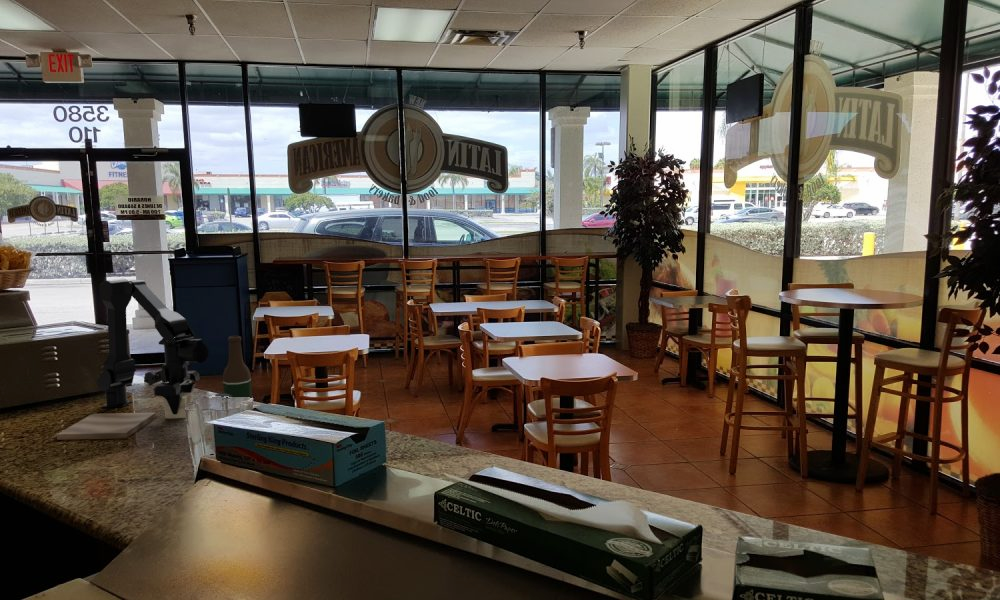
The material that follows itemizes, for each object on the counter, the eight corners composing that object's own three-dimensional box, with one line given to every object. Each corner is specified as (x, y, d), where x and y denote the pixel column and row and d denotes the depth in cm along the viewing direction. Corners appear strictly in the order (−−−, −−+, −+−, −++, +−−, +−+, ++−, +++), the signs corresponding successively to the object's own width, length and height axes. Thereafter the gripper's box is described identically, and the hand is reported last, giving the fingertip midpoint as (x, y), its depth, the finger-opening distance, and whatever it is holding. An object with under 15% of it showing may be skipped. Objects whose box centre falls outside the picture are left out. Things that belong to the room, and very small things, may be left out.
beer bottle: (219, 418, 200) (214, 338, 196) (238, 410, 207) (233, 333, 203) (239, 421, 197) (235, 339, 193) (258, 413, 204) (254, 335, 201)
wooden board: (93, 418, 199) (92, 413, 199) (156, 417, 200) (155, 412, 200) (57, 439, 182) (56, 434, 181) (126, 438, 183) (126, 432, 182)
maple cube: (173, 412, 206) (172, 392, 205) (194, 411, 206) (192, 392, 205) (165, 418, 200) (163, 398, 199) (186, 417, 200) (184, 398, 199)
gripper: (161, 353, 209) (165, 402, 211) (132, 367, 191) (137, 421, 193) (198, 352, 210) (201, 401, 212) (173, 367, 191) (177, 420, 194)
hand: (179, 411), depth 203 cm, fingers closed on maple cube, 6 cm apart
